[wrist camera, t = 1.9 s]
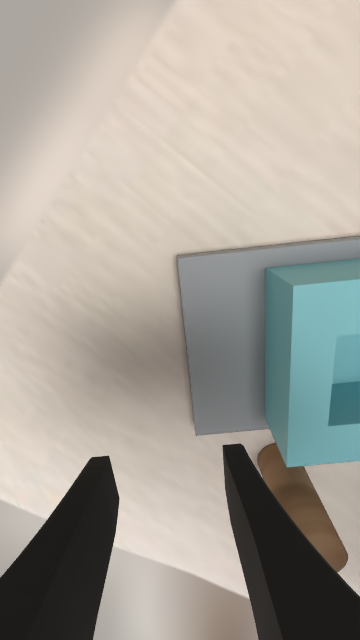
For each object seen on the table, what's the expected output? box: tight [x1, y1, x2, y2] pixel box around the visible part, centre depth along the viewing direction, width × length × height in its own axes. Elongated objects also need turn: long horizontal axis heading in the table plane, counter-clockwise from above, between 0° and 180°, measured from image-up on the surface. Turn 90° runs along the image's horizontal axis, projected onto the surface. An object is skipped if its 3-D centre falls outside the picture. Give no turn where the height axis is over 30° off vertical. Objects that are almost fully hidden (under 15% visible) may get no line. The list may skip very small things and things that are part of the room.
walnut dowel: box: [258, 443, 348, 572], centre depth 19 cm, size 3×3×7 cm
